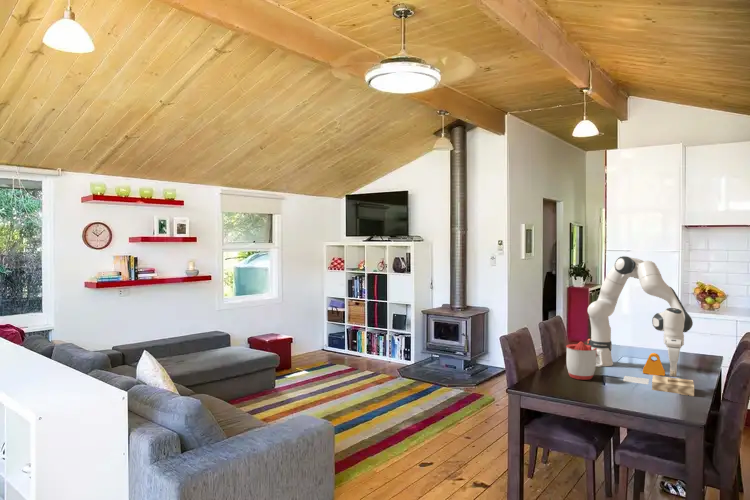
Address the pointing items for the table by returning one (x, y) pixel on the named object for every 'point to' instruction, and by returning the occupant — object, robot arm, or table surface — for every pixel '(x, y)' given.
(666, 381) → the oak hole block
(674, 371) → the steel pin
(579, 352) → the citrus juicer
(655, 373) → the bracket
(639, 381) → the rubber mat
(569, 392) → the table surface
